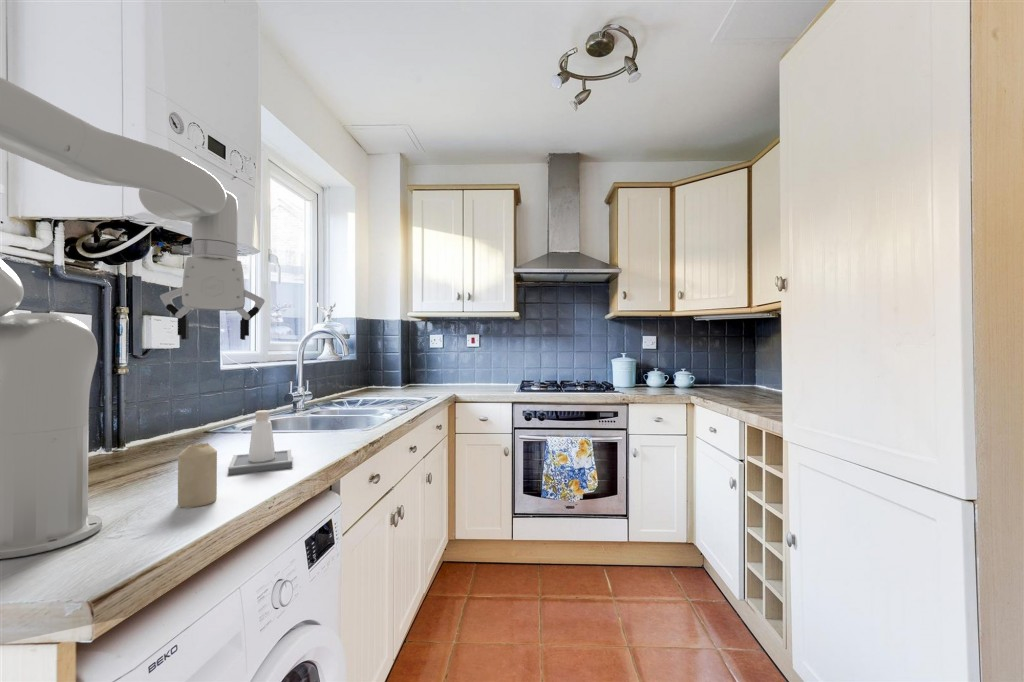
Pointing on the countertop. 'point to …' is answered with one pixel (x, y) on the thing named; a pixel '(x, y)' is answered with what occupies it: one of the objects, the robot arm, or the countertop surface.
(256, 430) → the salt shaker
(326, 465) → the countertop surface
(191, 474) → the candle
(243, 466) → the tray
